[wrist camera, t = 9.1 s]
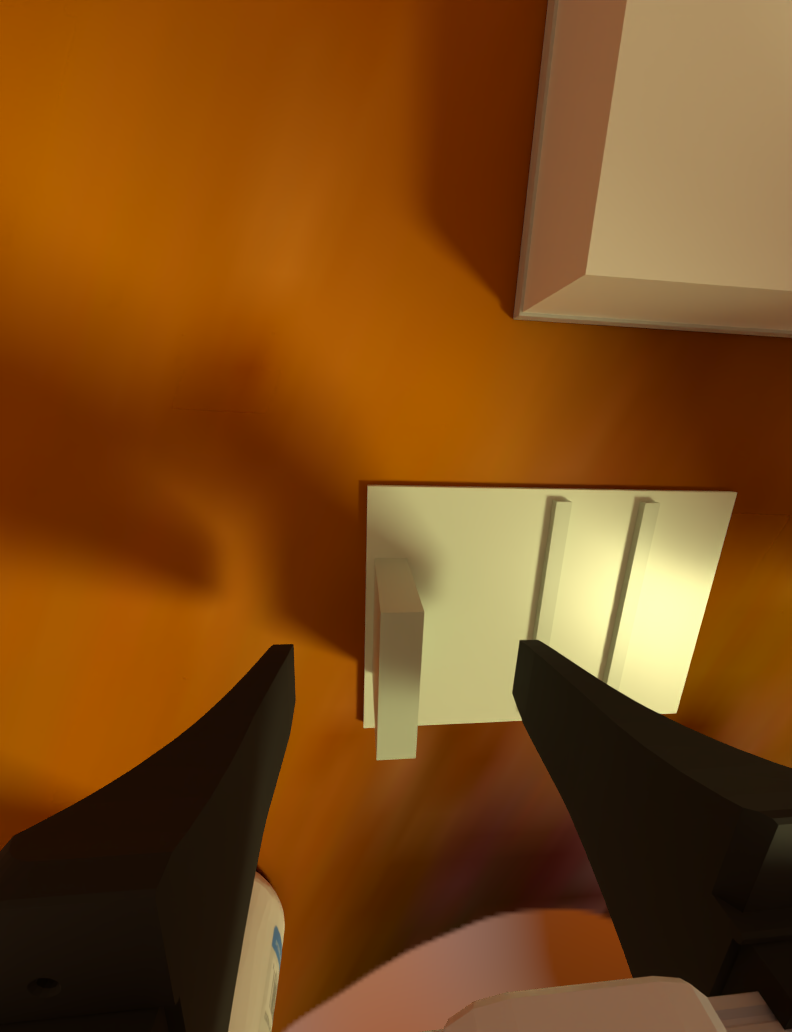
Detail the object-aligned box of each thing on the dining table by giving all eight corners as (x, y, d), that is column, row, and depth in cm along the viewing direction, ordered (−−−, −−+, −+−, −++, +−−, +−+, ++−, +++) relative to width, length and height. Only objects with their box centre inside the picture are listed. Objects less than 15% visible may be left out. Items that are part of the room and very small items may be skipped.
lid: (718, 488, 16) (870, 520, 11) (662, 700, 18) (765, 797, 14) (366, 482, 14) (371, 516, 10) (363, 713, 17) (365, 827, 12)
